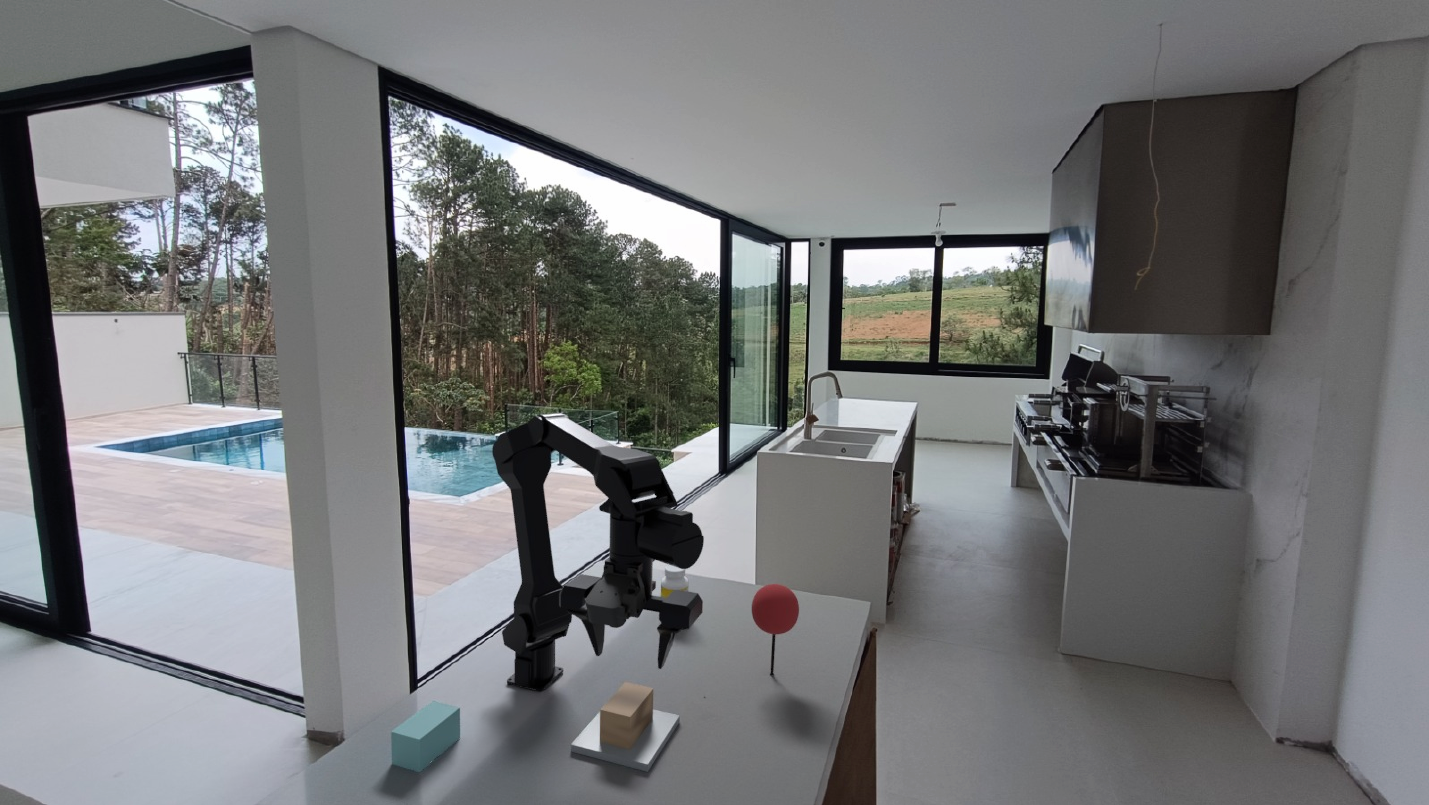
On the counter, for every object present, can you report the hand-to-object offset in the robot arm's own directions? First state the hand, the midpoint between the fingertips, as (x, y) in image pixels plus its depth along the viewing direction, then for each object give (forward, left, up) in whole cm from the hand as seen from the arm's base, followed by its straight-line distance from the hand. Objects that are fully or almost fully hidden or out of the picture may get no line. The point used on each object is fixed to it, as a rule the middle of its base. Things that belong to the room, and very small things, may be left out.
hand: (629, 661), depth 85 cm
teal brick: (+12, -23, -11) cm, 28 cm away
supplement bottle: (-37, -8, -11) cm, 40 cm away
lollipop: (-23, +15, -11) cm, 30 cm away
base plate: (0, 0, -11) cm, 11 cm away
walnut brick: (0, 0, -10) cm, 10 cm away
